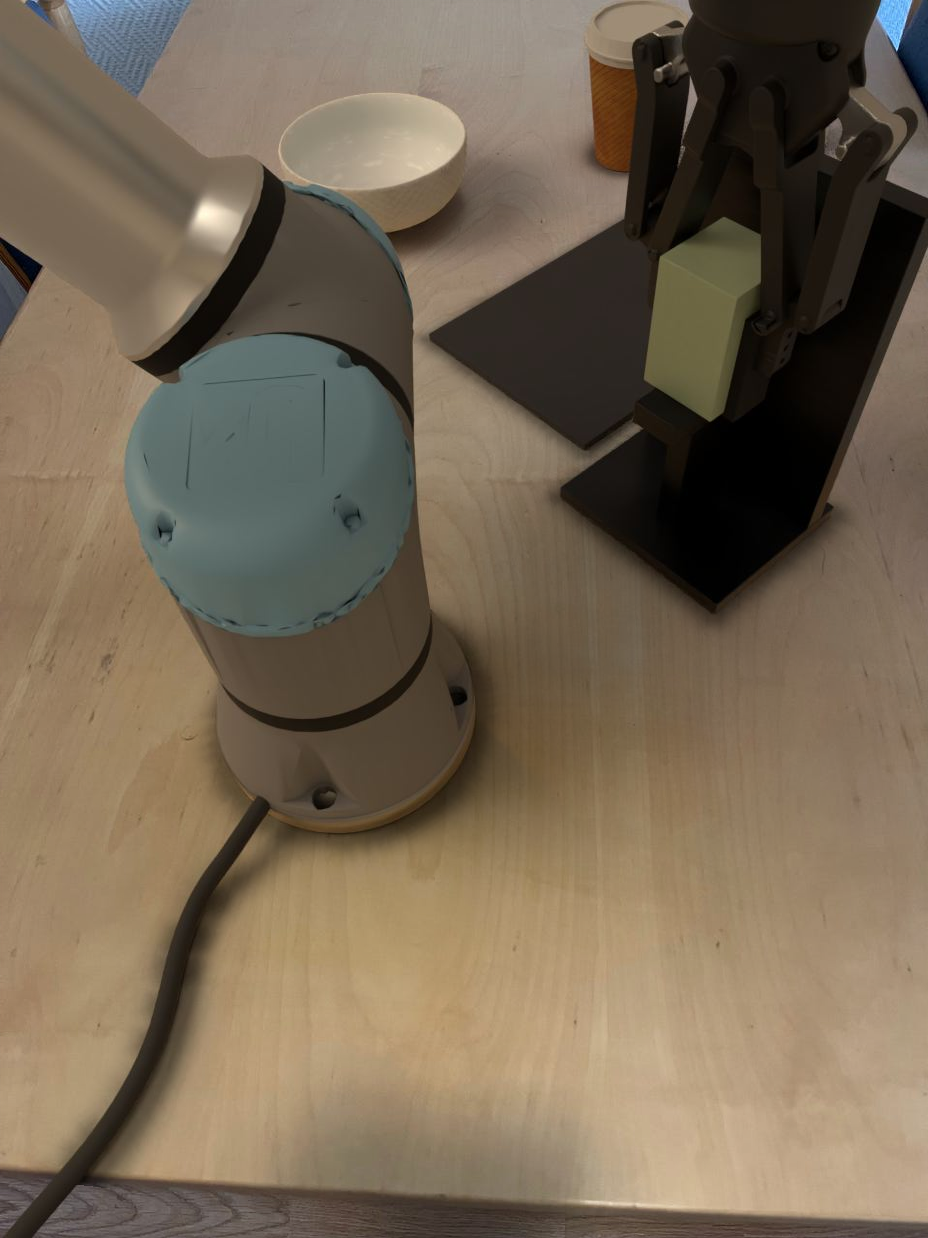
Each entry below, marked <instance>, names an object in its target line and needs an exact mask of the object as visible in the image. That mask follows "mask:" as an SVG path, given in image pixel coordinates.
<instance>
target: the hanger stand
mask: <svg viewBox="0 0 928 1238" xmlns="http://www.w3.org/2000/svg"><path fill="white" fill-rule="evenodd" d="M840 162H841V160H839V159H837V158H835V157H833V156H831V155H828V154H826V153H824V159H823V161H822V163H821V165H820V167H819V168H818V171H817V186H816V210H815V234H814V241H815V237H816V233H817V229H818V226H819V222H820V218H821V214H822V211H823V207H824V203H825V200H826V196H827V192H828V189H829V185H830V182H831V179H832V177H833V175H834V173H835V170H836V168H837V167H838V165H839V163H840ZM723 217H726V218H728V219H730V220H732V221H734V222H736V223H738V224H740V225H742V226H744V227H746V228H748V229H750V230H752V231H754V232H756V233H758V234H760V235H761V190H760V188H758V187H756V186H755V184H754V169H753V157H752V156H750V155H749V154H748V153H747V152H746V151H744V150H743V149H742V148H741V147H739V146H736V147H735V149H734V151H733V153H732V156H731V158H730V160H729V163H728V165H727V167H726V170H725V172H724V174H723V177H722V179H721V181H720V184H719V186H718V188H717V191H716V193H715V195H714V197H713V200H712V202H711V204H710V207H709V209H708V211H707V214H706V216H705V218H704V221H703V223H702V225H701V228H700V230H699V232H700V231H702V230H704V229H705V228H707V227H708V226H710V225H712V224H713V223H715V222H716V221H718V220H720V219H721V218H723ZM699 232H698V233H699ZM927 251H928V197H927V196H924V195H921V194H920V193H918V192H915V191H913V190H910V189H907V188H905V187H904V186H902V185H898V184H896V183H894V182H891V181H889V180H887V179H886V181H885V184H884V187H883V191H882V194H881V197H880V200H879V203H878V206H877V209H876V213H875V216H874V219H873V222H872V225H871V228H870V231H869V235H868V238H867V241H866V244H865V247H864V250H863V253H862V257H861V260H860V263H859V266H858V269H857V272H856V275H855V279H854V282H853V285H852V288H851V291H850V294H849V297H848V301H847V304H846V306H845V308H844V310H842V311H841V312H840V313H838V314H837V315H836V316H834V317H833V318H832V319H830V320H829V321H827V322H826V323H825V324H823V325H822V326H821V327H819V328H818V329H816V330H815V331H813V332H812V333H810V334H806V335H805V334H802V333H800V332H799V331H798V333H797V336H796V340H795V343H794V346H793V350H792V353H791V357H790V360H789V361H788V362H787V363H786V364H785V365H784V366H783V367H782V368H780V369H779V370H777V371H776V372H775V373H773V374H772V375H771V377H770V380H769V384H768V387H767V391H766V395H765V398H764V400H763V401H762V402H761V403H759V404H758V405H757V406H755V407H754V408H752V409H751V410H750V411H748V412H747V413H746V414H744V415H743V416H742V417H740V418H739V419H738V420H736V421H735V422H734V423H732V422H731V421H729V420H728V419H726V418H724V417H723V413H722V414H720V415H719V416H718V417H716V418H715V419H713V420H712V421H711V422H709V421H708V420H706V419H705V418H703V417H702V416H700V415H698V414H697V413H695V412H694V411H692V410H691V409H689V408H688V407H686V406H684V405H683V404H681V403H680V402H678V401H677V400H675V399H673V398H672V397H670V396H669V395H667V394H666V393H664V392H662V391H661V390H659V389H658V388H656V387H655V386H654V389H653V390H652V391H650V392H649V393H647V394H646V395H644V396H643V397H641V398H640V399H639V400H637V401H636V402H635V404H634V413H633V417H632V422H633V423H634V424H636V425H637V426H639V427H640V428H642V429H640V430H639V431H638V432H636V433H635V434H633V435H632V436H631V437H629V438H627V440H625V441H624V442H622V443H621V444H619V445H618V446H617V447H615V448H614V449H612V450H611V451H610V452H608V453H607V454H605V455H604V456H602V457H601V458H600V459H598V460H597V461H595V462H594V463H593V464H591V465H590V466H588V467H587V468H585V469H584V470H582V472H580V473H578V474H577V475H575V476H574V477H573V478H572V479H570V480H569V481H567V482H566V483H565V484H563V485H562V486H560V488H559V496H560V497H559V498H561V499H562V500H563V501H565V502H566V503H568V504H569V505H570V506H572V507H573V508H574V509H575V510H577V511H578V512H579V513H581V514H582V515H583V516H585V517H586V518H587V519H589V520H590V521H591V522H592V523H594V524H595V525H596V526H598V527H599V528H600V529H601V530H603V531H604V532H605V533H607V534H608V535H610V536H611V537H612V538H613V539H615V540H616V541H618V543H620V544H621V545H622V546H623V547H625V548H627V549H628V550H629V551H631V552H632V553H633V554H634V555H636V556H637V557H638V558H640V559H641V560H643V562H645V563H646V564H648V565H649V566H650V567H652V568H653V569H654V570H655V571H657V572H658V573H659V574H661V575H662V577H664V578H666V579H667V580H669V581H670V582H671V583H672V584H674V585H675V586H676V587H677V588H679V589H680V590H682V591H683V592H684V593H685V594H686V595H688V596H689V597H691V598H692V599H693V600H694V601H696V602H697V603H698V604H700V605H701V606H703V607H704V608H705V609H706V610H708V611H709V612H710V613H712V614H713V615H714V614H716V613H717V612H718V611H720V610H721V609H723V607H725V605H727V604H728V603H729V602H731V601H732V600H733V599H735V597H736V596H737V595H738V594H740V593H741V592H742V591H743V590H745V589H746V588H747V587H748V586H749V585H751V584H752V583H753V582H754V581H755V580H757V579H758V578H759V577H760V576H761V575H763V573H765V572H766V571H767V570H768V569H770V568H771V567H772V566H774V565H775V564H776V563H777V562H778V561H779V560H780V559H781V558H783V556H785V555H787V553H788V552H790V551H791V550H792V549H793V548H794V547H796V546H797V545H799V543H801V541H803V540H804V539H805V538H806V537H807V536H809V535H810V534H811V533H812V532H814V530H816V529H817V528H818V527H820V525H822V524H823V523H824V522H826V520H828V519H829V518H830V517H831V516H832V513H833V511H834V509H835V506H834V505H833V504H831V503H830V502H828V500H829V498H830V495H831V494H832V491H833V488H834V485H835V483H836V480H837V478H838V476H839V473H840V470H841V468H842V466H843V463H844V460H845V459H846V458H845V457H846V455H847V452H848V450H849V448H850V445H851V442H852V440H853V438H854V435H855V432H856V430H857V428H858V424H859V423H860V419H861V417H862V415H863V412H864V410H865V407H866V404H867V402H868V399H869V397H870V395H871V392H872V390H873V387H874V385H875V382H876V379H877V377H878V374H879V371H880V369H881V366H882V364H883V361H884V359H885V356H886V354H887V351H888V349H889V347H890V345H891V342H892V339H893V336H894V334H895V331H896V328H897V326H898V325H899V324H898V323H899V321H900V319H901V316H902V314H903V311H904V308H905V306H906V304H907V301H908V299H909V296H910V293H911V291H912V288H913V287H914V283H915V281H916V278H917V275H918V272H919V271H920V268H921V266H922V263H923V261H924V258H925V256H926V253H927Z"/></svg>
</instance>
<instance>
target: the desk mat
mask: <svg viewBox="0 0 928 1238" xmlns="http://www.w3.org/2000/svg"><path fill="white" fill-rule="evenodd" d="M623 225H624V218H622V219H621V220H620V221H618V222H616V223H614V224H612V225H611V226H609V227H608V228H606V229H604V230H602V231H601V232H599V233H598V234H595V235H594V236H592V237H591V238H589V239H587V240H585V241H584V242H582V243H579V245H577V246H575V247H573V248H571V249H570V250H569V251H567V252H565V253H563V254H562V255H560V256H559V257H557V258H555V259H553V260H551V261H549V262H548V263H547V264H545V265H543V266H541V267H540V268H539V269H536V270H535V271H533V272H531V273H530V274H528V275H526V276H524V277H523V278H521V279H519V280H518V281H516V282H514V283H513V284H511V285H509V286H507V287H506V288H504V289H502V290H501V291H499V292H497V293H496V294H494V295H492V296H490V297H489V298H487V299H485V300H484V301H481V303H479V304H477V305H476V306H474V307H472V308H470V309H468V310H467V311H465V312H463V313H462V314H460V315H459V316H457V317H455V318H453V319H452V320H450V321H448V322H447V323H444V324H443V325H442V326H440V327H438V328H437V329H435V330H433V331H431V332H430V333H429V334H428V336H429V340H430V341H431V342H432V343H434V344H435V345H437V346H438V347H440V348H441V349H442V350H444V351H445V352H447V353H448V354H449V355H451V356H452V357H453V358H454V359H456V360H457V361H458V362H461V363H462V364H463V365H464V366H466V367H467V368H469V369H470V370H472V371H473V372H474V373H476V374H477V375H478V376H479V377H481V378H483V379H484V380H485V381H487V382H488V383H489V384H491V385H493V386H494V387H495V388H497V389H498V390H499V391H501V392H502V393H503V394H505V395H507V396H508V397H510V398H511V399H512V400H514V401H515V402H516V403H518V404H519V405H521V406H522V407H523V408H525V409H526V410H528V411H529V412H530V413H531V414H533V415H535V416H536V417H538V418H539V420H541V421H543V422H544V423H546V424H547V425H549V427H551V428H553V429H554V430H555V431H557V432H558V433H560V434H561V435H562V436H564V437H565V438H566V439H568V440H570V441H571V442H572V443H574V444H575V445H576V446H578V447H579V448H581V449H582V450H584V451H586V450H587V449H589V448H590V447H592V446H593V445H595V444H596V443H597V442H598V441H600V440H601V439H603V438H605V437H606V436H608V435H609V434H610V433H611V432H613V431H614V430H616V429H617V428H619V427H620V426H622V425H623V424H625V423H626V422H627V421H629V420H630V419H632V418H633V413H634V404H635V402H636V401H637V400H639V399H640V398H641V397H643V396H644V395H646V394H647V393H649V392H650V391H652V390H653V389H654V386H653V385H651V384H650V383H648V382H647V381H645V380H644V374H645V367H646V359H647V352H648V344H649V336H650V329H651V321H652V314H653V311H652V310H650V309H648V303H647V293H648V285H649V277H650V269H651V261H650V260H649V258H648V255H647V248H646V246H645V245H644V244H643V243H642V242H641V241H640V240H637V241H630V240H629V239H628V238H627V237H626V235H625V233H624V227H623Z"/></svg>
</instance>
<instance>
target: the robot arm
mask: <svg viewBox="0 0 928 1238" xmlns="http://www.w3.org/2000/svg"><path fill="white" fill-rule="evenodd" d="M687 1H688V5H689V8H690V11H691V14H692V15H691V16H690V18H689V21H688V23H687V25H686V27H684V25H683V24H682V23H681V22H680V21H677V20H674V21H672V22H670V23H668V24H666V25H664V26H662V27H660V28H657V29H655V30H653V31H651V32H649V33H647V34H646V35H644V36H642V37H640V38H638V39H636V40H635V41H634V42H633V45H632V58H633V65H634V73H635V80H636V87H637V100H636V110H635V120H634V129H633V139H632V148H631V158H630V168H629V171H628V177H627V178H628V179H627V189H626V196H625V197H626V199H625V207H624V215H623V219H624V225H623V227H624V233H625V235H626V237H627V238H628V239H629V240H630V241H637V240H640V241H641V242H642V243H643V244H644V245H645V246H646V248H647V255H648V258H649V260H650V261H651V269H650V277H649V285H648V293H647V303H648V309H650V310H652V311H653V306H654V298H655V291H656V283H657V276H658V268H659V260H660V256H662V255H663V254H665V253H667V252H668V251H670V250H671V249H673V248H675V247H676V246H678V245H679V244H681V243H683V242H684V241H686V240H687V239H689V238H691V237H692V236H694V235H695V234H697V233H698V232H699V230H700V228H701V225H702V223H703V221H704V218H705V216H706V214H707V211H708V209H709V207H710V204H711V202H712V200H713V197H714V195H715V193H716V191H717V188H718V186H719V184H720V181H721V179H722V177H723V174H724V172H725V170H726V167H727V165H728V163H729V160H730V158H731V156H732V153H733V151H734V149H735V147H736V146H739V147H741V148H742V149H743V150H744V151H746V152H747V153H748V154H749V155H750V156H752V157H753V169H754V184H755V186H756V187H758V188H760V190H761V309H760V310H758V311H757V312H755V313H754V314H752V315H751V316H749V317H748V318H746V319H745V323H744V327H743V331H742V336H741V340H740V344H739V349H738V353H737V357H736V362H735V366H734V370H733V375H732V379H731V383H730V388H729V392H728V396H727V400H726V405H725V409H724V412H723V417H724V418H726V419H728V420H729V421H731V422H732V423H734V422H735V421H736V420H738V419H739V418H740V417H742V416H743V415H744V414H746V413H747V412H748V411H750V410H751V409H752V408H754V407H755V406H757V405H758V404H759V403H761V402H762V401H763V400H764V398H765V395H766V391H767V387H768V384H769V380H770V377H771V375H772V374H773V373H775V372H776V371H777V370H779V369H780V368H782V367H783V366H784V365H785V364H786V363H787V362H788V361H789V360H790V357H791V353H792V350H793V346H794V343H795V340H796V336H797V333H798V331H799V332H800V333H802V334H805V335H806V334H810V333H812V332H813V331H815V330H816V329H818V328H819V327H821V326H822V325H823V324H825V323H826V322H827V321H829V320H830V319H832V318H833V317H834V316H836V315H837V314H838V313H840V312H841V311H842V310H844V308H845V306H846V304H847V301H848V297H849V294H850V291H851V288H852V285H853V282H854V279H855V275H856V272H857V269H858V266H859V263H860V260H861V257H862V253H863V250H864V247H865V244H866V241H867V238H868V235H869V231H870V228H871V225H872V222H873V219H874V216H875V213H876V209H877V206H878V203H879V200H880V197H881V194H882V191H883V187H884V184H885V181H886V180H887V178H888V175H889V171H890V168H891V166H892V164H893V163H894V162H895V161H896V159H897V158H898V157H899V155H900V153H901V152H902V151H903V150H904V148H905V147H906V146H907V144H908V143H909V141H910V140H911V139H912V137H913V136H914V135H915V133H916V131H917V130H918V126H919V118H918V114H917V113H916V112H915V110H914V109H912V108H910V107H907V106H903V107H900V108H897V109H896V110H893V111H890V110H889V109H888V108H887V107H886V106H885V105H884V104H883V103H882V102H880V101H879V99H877V98H876V97H875V96H874V95H873V94H872V93H871V92H870V91H868V89H866V88H865V87H866V83H867V76H868V75H867V73H868V71H867V65H866V57H865V56H866V55H865V52H866V51H865V49H866V41H867V38H868V36H869V33H870V31H871V28H872V26H873V24H874V21H875V19H876V17H877V15H878V12H879V9H880V7H881V5H882V0H687ZM691 82H692V86H693V89H694V92H695V95H696V103H695V105H694V108H693V110H692V113H691V116H690V119H689V121H688V123H687V127H686V129H685V123H686V117H687V109H688V102H689V95H690V86H691ZM837 119H838V120H839V121H840V124H841V135H840V138H839V141H838V145H837V146H836V147H835V149H834V155H835V157H836V159H838V160H840V161H841V162H840V163H839V165H838V167H837V168H836V170H835V173H834V175H833V177H832V179H831V182H830V185H829V189H828V192H827V196H826V200H825V203H824V207H823V211H822V214H821V218H820V222H819V226H818V229H817V233H816V237H815V241H814V234H815V210H816V186H817V171H818V168H819V167H820V165H821V163H822V161H823V159H824V154H826V153H825V152H826V144H825V133H826V128H827V127H828V126H829V127H830V125H832V124H833V123H834V122H835V121H836V120H837ZM684 129H685V133H684ZM682 147H684V150H683V153H682V155H681V150H682V149H681V148H682ZM680 156H681V158H680ZM0 238H1V239H2V240H4V241H5V242H7V243H8V244H9V245H11V246H13V247H14V248H16V249H17V250H19V251H20V252H22V253H23V254H24V255H26V256H28V257H29V258H31V259H32V260H34V261H35V262H37V263H38V264H39V265H41V266H43V267H44V268H46V269H47V270H48V271H50V272H51V273H53V274H54V275H55V276H57V277H59V278H60V279H62V280H63V281H64V282H66V283H67V284H70V285H71V286H72V287H74V288H75V289H77V290H78V291H79V292H81V293H83V294H84V295H85V296H87V297H89V298H90V299H92V300H93V301H95V303H98V304H99V305H100V306H102V307H103V308H104V309H105V311H106V313H107V314H108V315H107V316H108V319H109V321H110V325H111V329H112V333H113V336H114V340H115V343H116V348H117V351H118V353H119V354H120V355H121V356H122V357H124V358H125V359H126V360H128V361H130V362H131V363H133V364H134V365H136V366H137V367H139V368H140V369H142V370H144V371H145V372H146V373H148V374H150V376H152V377H154V378H156V379H157V380H159V381H160V382H162V383H160V384H159V385H158V386H157V387H156V388H155V389H153V391H152V393H150V395H149V396H148V398H147V399H146V401H145V402H144V404H143V405H142V407H141V409H140V411H139V412H138V414H137V416H136V418H135V420H134V422H133V425H132V427H131V429H130V433H129V436H128V439H127V443H126V448H125V454H124V461H123V480H124V481H123V482H124V488H125V493H126V499H127V502H128V507H129V509H130V513H131V515H132V517H133V521H134V523H135V525H136V527H137V529H138V535H139V542H140V545H141V548H142V550H143V552H144V553H145V555H146V558H147V560H148V562H149V564H150V566H151V567H152V569H153V571H154V572H155V575H156V576H157V578H158V580H159V581H160V583H161V584H162V585H163V587H164V588H165V589H166V590H167V591H168V592H169V594H170V595H171V596H170V597H172V599H173V601H174V603H175V604H176V606H177V608H178V610H179V612H180V613H181V615H182V617H183V618H184V621H185V623H186V624H187V626H188V629H189V630H190V631H191V633H192V635H193V637H194V638H195V640H196V642H197V644H198V646H199V647H200V649H201V651H202V653H203V655H204V657H205V658H206V659H207V662H208V664H209V666H210V667H211V669H212V671H213V672H214V674H215V676H216V677H217V692H216V705H215V716H214V717H215V733H216V739H217V743H218V747H219V750H220V752H221V755H222V758H223V760H224V762H225V764H226V766H227V767H228V769H229V771H230V773H231V774H232V776H233V778H234V779H235V781H236V783H237V784H238V785H239V787H240V788H241V789H242V791H243V792H244V794H245V795H246V796H247V797H248V798H249V799H250V801H252V803H251V804H250V805H249V807H248V809H247V810H246V812H245V813H244V815H243V816H242V817H241V819H240V820H239V822H238V823H237V825H236V826H235V828H234V829H233V830H232V832H231V833H230V835H229V837H228V838H227V839H226V841H225V842H224V844H223V845H222V847H221V848H220V850H219V851H218V852H217V854H216V856H214V858H213V860H212V861H211V862H210V863H209V864H208V866H207V868H206V869H205V870H204V872H203V873H202V874H201V876H200V877H199V879H198V881H197V882H196V884H195V886H194V887H193V889H192V891H191V892H190V895H189V896H188V898H187V901H186V903H185V905H184V907H183V908H182V911H181V914H180V916H179V919H178V921H177V924H176V926H175V929H174V931H173V936H172V938H171V941H170V944H169V948H168V951H167V955H166V959H165V963H164V967H163V972H162V976H161V979H160V984H159V988H158V992H157V996H156V1001H155V1003H154V1004H155V1005H154V1008H153V1012H152V1015H151V1018H150V1022H149V1026H148V1028H147V1031H146V1033H145V1035H144V1036H145V1037H144V1039H143V1041H142V1044H141V1047H140V1049H139V1051H138V1053H137V1056H136V1058H135V1060H134V1062H133V1064H132V1066H131V1068H130V1070H129V1072H128V1074H127V1075H126V1077H125V1079H124V1081H123V1083H122V1085H121V1086H120V1088H119V1090H118V1092H117V1093H116V1095H115V1097H114V1098H113V1099H112V1101H111V1103H110V1104H109V1106H108V1108H107V1109H106V1111H105V1112H104V1114H103V1115H102V1116H101V1118H100V1119H99V1121H98V1122H97V1123H96V1125H95V1126H94V1128H93V1129H92V1131H91V1132H90V1133H89V1134H88V1136H87V1137H86V1138H85V1140H84V1141H83V1142H82V1144H81V1145H80V1146H79V1147H78V1149H77V1150H76V1151H75V1152H74V1154H73V1155H71V1157H70V1158H69V1160H68V1161H67V1162H66V1163H65V1164H64V1165H63V1167H62V1168H61V1169H60V1170H59V1171H58V1173H56V1175H55V1176H54V1177H53V1179H51V1180H50V1182H49V1183H48V1184H47V1185H46V1186H45V1188H44V1189H42V1191H41V1192H40V1193H39V1194H38V1196H37V1197H36V1198H34V1200H33V1202H31V1204H30V1205H29V1206H27V1208H26V1209H25V1211H24V1212H23V1213H22V1214H21V1215H20V1217H19V1218H17V1220H16V1221H15V1222H14V1223H13V1224H12V1226H11V1227H10V1228H9V1229H8V1230H7V1231H6V1233H5V1234H4V1235H3V1236H2V1238H33V1237H35V1235H36V1234H37V1232H38V1231H39V1230H40V1229H41V1228H42V1227H43V1226H44V1224H46V1222H47V1221H48V1220H49V1218H51V1216H52V1215H53V1213H55V1212H56V1210H57V1209H58V1208H59V1207H60V1206H61V1204H62V1203H63V1202H64V1201H65V1200H66V1199H67V1197H68V1196H69V1195H70V1194H71V1193H72V1192H73V1190H74V1189H75V1188H76V1187H77V1186H78V1184H80V1182H81V1181H82V1180H83V1179H84V1178H85V1176H86V1175H87V1174H88V1172H89V1171H90V1170H91V1169H92V1167H93V1166H94V1165H95V1164H96V1162H97V1161H98V1160H99V1158H100V1157H101V1156H102V1155H103V1153H104V1152H105V1151H106V1149H107V1148H108V1147H109V1146H110V1145H111V1143H112V1141H113V1140H114V1138H115V1136H116V1135H117V1134H118V1132H119V1131H120V1129H122V1126H123V1125H124V1124H125V1122H126V1120H127V1119H128V1117H129V1116H130V1114H131V1112H132V1111H133V1109H134V1107H135V1106H136V1104H137V1103H138V1101H139V1099H140V1097H141V1096H142V1093H143V1092H144V1091H145V1088H146V1086H147V1084H148V1083H149V1081H150V1079H151V1077H152V1074H153V1072H154V1070H155V1069H156V1066H157V1065H158V1062H159V1060H160V1057H161V1055H162V1052H163V1049H164V1048H165V1044H166V1041H167V1039H168V1035H169V1033H170V1031H171V1027H172V1023H173V1019H174V1015H175V1011H176V1008H177V1003H178V1000H179V996H180V990H181V986H182V981H183V977H184V972H185V969H186V964H187V960H188V957H189V953H190V949H191V945H192V943H193V939H194V936H195V934H196V931H197V927H198V925H199V923H200V920H201V919H202V915H203V912H204V911H205V909H206V906H207V905H208V903H209V901H210V899H211V897H212V896H213V894H214V892H215V890H216V889H217V887H218V886H219V884H220V883H221V881H222V880H223V878H225V876H226V874H227V873H229V870H230V869H231V868H232V867H233V865H234V863H235V862H236V860H237V859H238V857H239V856H240V855H241V853H242V852H243V850H244V849H245V847H246V846H247V844H248V843H249V842H250V840H251V839H252V838H253V835H254V834H255V832H256V831H257V830H258V828H259V827H260V825H261V823H262V822H263V820H264V819H265V817H266V816H267V814H268V815H269V816H271V817H273V818H275V819H276V820H278V821H280V822H283V823H285V824H287V825H289V826H292V827H295V828H299V829H301V830H306V831H311V832H317V833H326V834H346V833H357V832H362V831H367V830H372V829H376V828H378V827H383V826H385V825H387V824H390V823H393V822H396V821H398V820H400V819H402V818H404V817H405V816H408V815H409V814H411V813H413V812H414V811H416V810H418V809H419V808H420V807H422V806H423V805H425V804H426V803H428V802H429V801H430V800H431V799H432V798H433V797H434V796H436V795H437V794H438V793H439V792H440V791H441V790H442V789H443V788H444V787H445V785H446V784H448V783H449V781H450V780H451V778H452V777H453V776H454V774H455V773H456V771H457V770H458V768H459V767H460V765H461V763H462V762H463V759H464V758H465V756H466V754H467V752H468V750H469V747H470V743H471V741H472V738H473V733H474V729H475V723H476V697H475V687H474V678H473V674H472V669H471V665H470V663H469V660H468V658H467V656H466V654H465V651H464V649H463V648H462V646H461V644H460V643H459V641H458V640H457V639H456V637H455V636H454V634H453V633H452V632H451V631H450V630H449V629H448V628H447V627H446V625H445V624H444V623H443V622H442V620H441V619H440V618H439V617H438V616H437V615H436V613H435V612H434V611H433V610H432V608H431V604H430V603H431V602H430V596H429V589H428V584H427V576H426V571H425V570H426V569H425V564H424V563H425V562H424V556H423V550H422V541H421V533H420V523H419V522H420V521H419V510H418V509H419V508H418V489H417V488H418V487H417V463H416V446H415V402H414V401H415V396H414V395H415V393H414V392H415V389H414V388H415V387H414V346H413V345H414V344H413V343H414V336H415V335H414V332H415V331H414V309H413V304H412V299H411V296H410V292H409V288H408V284H407V281H406V276H405V273H404V269H403V266H402V262H401V260H400V257H399V255H398V252H397V251H396V249H395V246H394V245H393V243H392V241H391V239H390V237H388V234H386V233H385V232H384V231H383V230H382V228H381V227H380V226H379V225H378V223H377V222H376V221H375V220H374V219H373V218H372V217H371V216H370V215H369V214H368V213H367V212H366V211H365V210H363V209H362V208H361V207H360V206H359V205H357V204H356V203H354V202H353V201H351V200H350V199H348V198H347V197H345V196H343V195H341V194H339V193H337V192H335V191H334V190H331V189H328V188H326V187H323V186H320V185H317V184H313V183H311V184H310V185H308V186H299V185H293V183H292V182H290V181H285V180H282V179H280V178H279V177H277V176H276V175H275V174H274V173H273V172H272V171H271V170H269V169H268V167H267V166H265V165H264V164H263V163H262V162H261V161H260V160H258V159H257V158H255V157H253V155H249V154H240V155H227V156H211V157H208V156H207V155H204V154H202V153H201V152H200V151H199V150H197V149H196V148H195V147H194V146H193V145H191V144H190V143H189V142H188V141H187V140H186V139H185V138H183V137H182V136H181V135H180V134H179V133H177V132H176V131H175V130H174V129H172V127H170V126H169V125H168V124H167V123H165V122H164V121H163V120H162V119H161V118H160V117H159V116H157V115H156V114H155V113H154V112H153V111H151V110H150V109H149V108H148V107H147V106H145V104H144V103H142V102H141V101H140V100H139V99H138V98H137V97H135V96H134V95H133V94H132V93H131V92H129V90H127V89H126V88H124V87H123V86H122V85H121V84H120V83H118V81H116V79H114V78H113V77H112V76H110V75H109V73H107V72H106V71H105V70H103V69H102V68H101V66H99V65H97V64H96V63H95V62H94V61H93V60H92V59H90V58H89V57H88V56H87V55H86V54H85V53H83V51H81V50H80V49H79V48H77V47H76V46H75V45H74V44H73V43H71V42H70V41H69V40H68V38H66V37H65V36H64V35H62V34H61V33H60V32H58V31H57V29H55V28H54V27H53V26H52V25H50V24H49V23H48V22H47V21H46V20H45V19H43V18H42V17H41V16H40V15H39V14H37V12H35V11H34V10H33V9H32V8H30V7H29V6H28V5H27V4H26V3H25V2H24V1H22V0H0Z"/></svg>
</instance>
